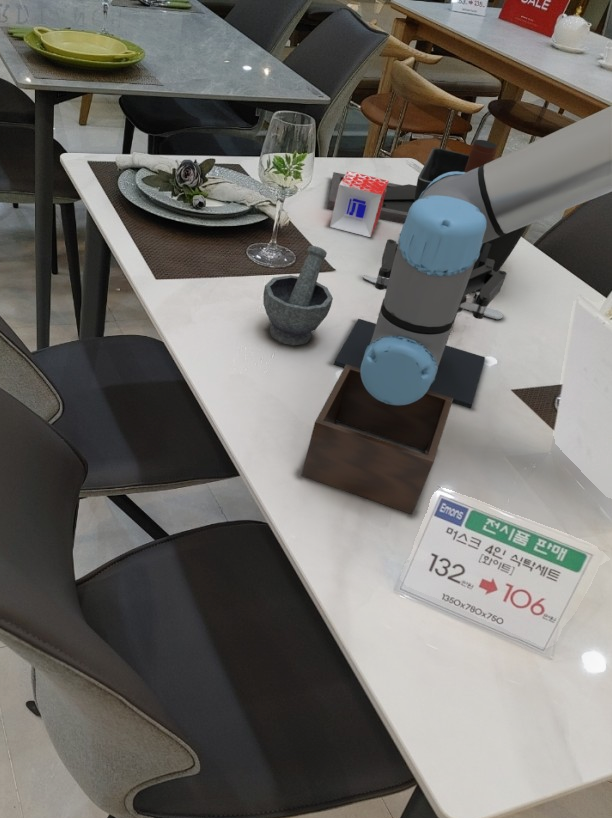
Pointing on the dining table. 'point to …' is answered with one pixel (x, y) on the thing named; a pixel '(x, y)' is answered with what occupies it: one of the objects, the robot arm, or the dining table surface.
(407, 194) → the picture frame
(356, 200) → the red and white box
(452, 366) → the slate mat
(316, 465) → the open wooden box
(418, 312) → the robot arm
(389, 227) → the dining table surface
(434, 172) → the flower pot
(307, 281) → the mortar and pestle
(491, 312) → the butter knife
